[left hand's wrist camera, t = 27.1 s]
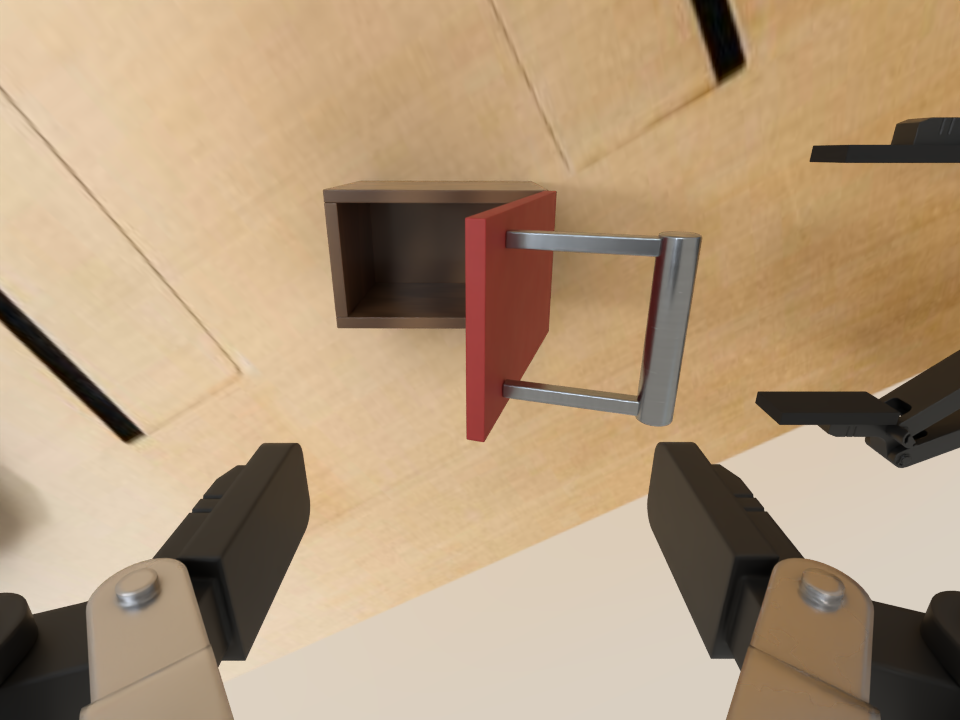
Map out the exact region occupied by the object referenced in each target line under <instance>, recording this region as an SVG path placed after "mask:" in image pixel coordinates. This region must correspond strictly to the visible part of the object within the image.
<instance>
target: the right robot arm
mask: <svg viewBox="0 0 960 720" xmlns="http://www.w3.org/2000/svg"><path fill="white" fill-rule="evenodd" d="M810 162H835V163H960V118H920V119H908V120H906V121H903V122H900V123H898V124H896V128H895V132H894V135H893V139H892V142H891V145H825V146H813V149H812V153H811V158H810ZM755 403H756V404H757V405H758V406H759V407H760V408H762V409H763V410H764V411H765V412H766V413H767V414H768V415H769V416H770V417H772V418H773V419H774V420H775V421H776V422H777V423H778V424H779V425H818V426H819V427H821V428H822V429H823V430H824V431H826V432H827V433H828V434H830V435H833V436H835V437H845V436H847V437H852V436H854V437H865V442H866V444H867V445H869V446H870V447H871V448H872V449H874V450H875V451H876V452H878V453H879V454H881V455H882V456H883V457H884V458H886V459H887V460H888V461H890V462H891V463H892V464H894V465H895V466H897V467H898V468H904V467H908V466H911V465H913V464H916V463H919V462H922V461H924V460H927V459H930V458H932V457H935V456H938V455H941V454H943V453H946V452H949V451H952V450H954V449H957V448H960V350H959V351H957V352H955V353H954V354H952V355H950V356H949V357H947V358H946V359H944V360H942V361H941V362H939V363H937V364H936V365H934V366H932V367H931V368H929V369H927V370H926V371H924V372H923V373H921V374H919V375H918V376H916V377H914V378H913V379H911V380H909V381H908V382H906V383H905V384H903V385H901V386H900V387H898V388H896V389H895V390H893V391H891V392H890V393H888V394H887V395H885V396H883V397H882V398H880V399H877V398H876V397H874V396H872V395H871V394H869V393H868V392H758V393H757V398H756V402H755ZM899 416H901V417H899Z"/></svg>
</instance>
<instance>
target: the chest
mask: <svg viewBox="0 0 960 720" xmlns="http://www.w3.org/2000/svg"><path fill="white" fill-rule="evenodd" d="M542 191H548V190H547V189H545V188H543V187H541V186H539V185H537V184H535V183H533V182H516V181H358V182H354V183H350V184H346V185H341V186H337V187H333V188H328V189H324V190H323V196H324V202H325V203H324V206H325V216H326V225H327V234H328V244H329V253H330V263H331V272H332V281H333V291H334V300H335V310H336V317H337V318H336V319H337V327H338V328H466V284H465V218H467V217H469V216H472V215H475V214H478V213H481V212H484V211H487V210H490V209H493V208H496V207H499V206H502V205H504V204H507V203H510V202H513V201H516V200H519V199H522V198H525V197H528V196H531V195H534V194H537V193H540V192H542Z"/></svg>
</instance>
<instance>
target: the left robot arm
mask: <svg viewBox="0 0 960 720" xmlns="http://www.w3.org/2000/svg"><path fill="white" fill-rule="evenodd" d="M647 509H648V518H649V522H650V526H651V529H652V531H653V533H654V535H655V537H656V540H657V542H658V544H659V546H660V548H661V551H662V553H663V555H664V557H665V559H666V561H667V564H668V566H669V568H670V570H671V572H672V574H673V577H674V579H675V581H676V583H677V585H678V588H679V590H680V592H681V594H682V596H683V599H684V601H685V603H686V605H687V607H688V610H689V612H690V614H691V616H692V618H693V620H694V623H695V625H696V627H697V629H698V631H699V634H700V636H701V638H702V640H703V642H704V644H705V647H706V649H707V651H708V653H709V655H710V658H711V659H735V661H736V663H737V665H738V667H739V669H740V671H741V672H740V676H739V679H738V682H737V685H736V689H735V692H734V695H733V699H732V702H731V705H730V708H729V712H728V715H727V718H726V720H960V591H944V592H940V593H938V594H936V595H935V596H934V597H933V598H932V600H931V602H930V604H929V607H928V609H927V611H926V613H922V612H918V611H914V610H910V609H905V608H901V607H897V606H893V605H888V604H884V603H880V602H875V601H872V600H871V599H870V597H869V595H868V594H867V593H866V592H865V590H864V589H863V588H862V587H861V586H860V585H859V584H858V583H857V582H856V581H854V580H853V579H852V578H850V577H849V576H847V575H846V574H844V573H843V572H841V571H839V570H837V569H835V568H833V567H831V566H829V565H826V564H824V563H821V562H818V561H814V560H810V559H805V558H804V557H803V556H802V555H801V553H800V552H799V551H798V550H797V549H796V547H795V546H794V545H793V544H792V542H791V541H790V540H789V539H788V537H787V536H786V535H785V534H784V532H783V531H782V530H781V529H780V527H779V526H778V525H777V524H776V522H775V521H774V520H773V519H772V517H771V516H770V515H769V514H768V512H765V511H764V507H763V506H762V505H761V504H760V502H759V501H758V500H757V499H756V498H754V497H753V494H752V492H751V491H750V490H749V489H748V487H747V486H746V485H745V484H744V482H743V481H742V480H741V479H740V478H739V477H737V476H736V475H735V474H733V473H732V472H730V471H729V470H727V469H726V468H724V467H723V466H721V465H720V464H711V463H710V462H709V461H708V459H707V458H706V457H705V455H704V454H703V453H702V451H701V450H700V449H699V447H698V446H697V445H696V444H695V443H693V442H659V443H658V444H657V446H656V448H655V453H654V460H653V466H652V473H651V480H650V486H649V493H648V502H647ZM309 515H310V498H309V491H308V485H307V478H306V471H305V465H304V458H303V452H302V448H301V446H300V445H299V444H298V443H263V444H262V445H261V446H260V447H259V448H258V450H257V451H256V452H255V454H254V455H253V456H252V458H251V459H250V460H249V462H248V463H247V464H246V465H237V466H236V467H234V468H233V469H231V470H230V471H228V472H227V473H225V474H224V475H222V476H221V477H219V478H218V479H216V481H215V482H214V483H213V484H212V486H211V487H210V488H209V489H208V491H207V492H206V493H205V494H204V495H203V499H200V500H199V502H198V503H197V504H196V505H195V507H194V508H193V509H192V513H189V514H188V515H187V517H186V518H185V519H184V520H183V521H182V523H181V524H180V525H179V526H178V528H177V529H176V530H175V531H174V533H173V534H172V535H171V536H170V538H169V539H168V540H167V541H166V542H165V544H164V545H163V546H162V547H161V549H160V550H159V551H158V552H157V554H156V555H155V556H154V557H153V559H150V560H146V561H142V562H139V563H136V564H134V565H131V566H129V567H127V568H125V569H123V570H121V571H119V572H117V573H116V574H114V575H113V576H111V577H110V578H108V579H107V580H106V581H104V582H103V583H102V584H101V585H100V586H99V587H98V588H97V589H96V590H95V592H94V593H93V594H92V595H91V597H90V599H89V601H87V602H83V603H80V604H75V605H71V606H67V607H62V608H58V609H54V610H50V611H45V612H41V613H37V614H33V615H32V613H31V610H30V608H29V606H28V604H27V601H26V599H25V598H24V597H23V596H21V595H19V594H14V593H0V720H234V718H233V715H232V712H231V708H230V705H229V702H228V699H227V695H226V692H225V689H224V685H223V682H222V679H221V676H220V672H219V669H218V667H219V665H220V663H221V661H245V660H246V658H247V656H248V654H249V652H250V649H251V647H252V645H253V643H254V641H255V639H256V636H257V634H258V632H259V630H260V628H261V626H262V623H263V621H264V619H265V617H266V615H267V613H268V610H269V608H270V606H271V604H272V602H273V600H274V598H275V595H276V593H277V591H278V589H279V587H280V585H281V582H282V580H283V578H284V576H285V574H286V572H287V569H288V567H289V565H290V563H291V561H292V559H293V556H294V554H295V552H296V550H297V548H298V546H299V544H300V541H301V539H302V537H303V535H304V533H305V531H306V528H307V525H308V521H309Z"/></svg>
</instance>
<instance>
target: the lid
mask: <svg viewBox="0 0 960 720" xmlns="http://www.w3.org/2000/svg"><path fill="white" fill-rule="evenodd" d="M555 210H556V191H542V192H540V193H537V194H534V195H531V196H528V197H525V198H522V199H519V200H516V201H513V202H510V203H507V204H504V205H502V206H499V207H496V208H493V209H490V210H487V211H484V212H481V213H478V214H475V215H472V216H469V217H467V218H465V284H466V423H467V439H468V440H474V441H480V442H484V441H485V440H486V438H487V436H488V435H489V433H490V431H491V429H492V428H493V426H494V424H495V423H496V421H497V419H498V417H499V416H500V414H501V412H502V411H503V409H504V407H505V405H506V404H507V402H508V400H509V398H512V399H519V400H527V401H534V402H541V403H548V404H555V405H562V406H570V407H577V408H584V409H591V410H598V411H606V412H613V413H620V414H627V415H634V416H635V417H636V418H637V420H639V421H640V422H642V423H644V424H647V425H650V426H666V425H669V424H670V423H671V422H672V419H673V413H674V407H675V401H676V395H677V389H678V383H679V377H680V371H681V365H682V358H683V352H684V346H685V340H686V334H687V328H688V322H689V316H690V310H691V303H692V297H693V291H694V285H695V279H696V273H697V267H698V261H699V255H700V248H701V242H702V235H700V234H697V233H691V232H676V231H672V232H662V233H660V234H659V236H645V235H624V234H602V233H580V232H558V231H554V227H555ZM553 251H564V252H582V253H600V254H617V255H635V256H653V257H656V259H655V266H654V274H653V281H652V289H651V296H650V304H649V312H648V319H647V327H646V334H645V342H644V350H643V357H642V365H641V372H640V380H639V387H638V395H637V396H634V395H626V394H619V393H611V392H603V391H595V390H588V389H580V388H572V387H564V386H557V385H549V384H541V383H533V382H525V381H520V380H521V378H522V376H523V374H524V373H525V371H526V369H527V368H528V366H529V364H530V362H531V361H532V359H533V357H534V355H535V354H536V352H537V350H538V349H539V347H540V345H541V343H542V342H543V340H544V338H545V337H546V335H547V333H548V331H549V315H550V298H551V280H552V263H553Z"/></svg>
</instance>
